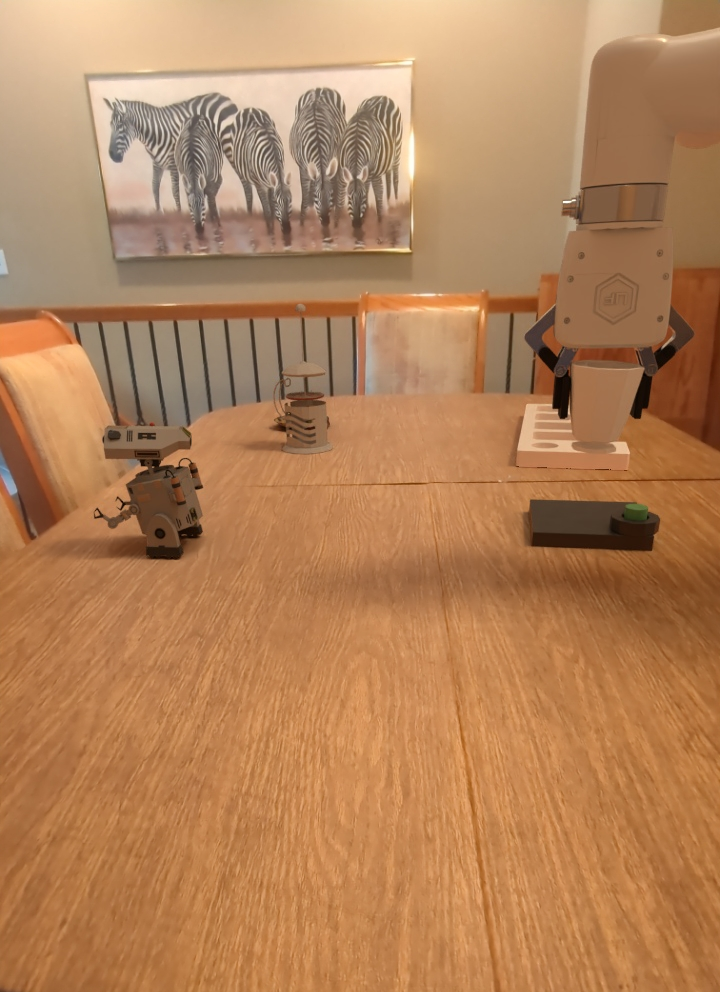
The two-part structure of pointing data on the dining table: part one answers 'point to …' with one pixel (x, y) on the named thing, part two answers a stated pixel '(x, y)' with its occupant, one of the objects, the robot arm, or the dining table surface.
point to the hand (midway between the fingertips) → (598, 414)
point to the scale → (589, 525)
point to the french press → (304, 410)
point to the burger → (283, 422)
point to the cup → (601, 402)
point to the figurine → (157, 486)
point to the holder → (560, 444)
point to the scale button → (636, 512)
